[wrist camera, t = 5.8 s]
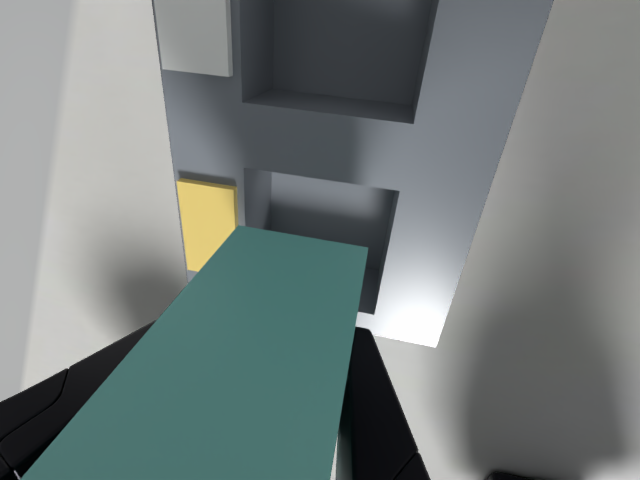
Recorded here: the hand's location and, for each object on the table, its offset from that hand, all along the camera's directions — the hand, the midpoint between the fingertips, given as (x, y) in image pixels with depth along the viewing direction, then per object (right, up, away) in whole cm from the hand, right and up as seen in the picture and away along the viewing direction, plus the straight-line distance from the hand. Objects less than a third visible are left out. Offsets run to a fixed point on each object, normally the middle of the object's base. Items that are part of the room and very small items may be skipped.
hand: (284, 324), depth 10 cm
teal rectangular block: (0, +1, +1) cm, 2 cm away
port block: (+2, +7, +5) cm, 9 cm away
